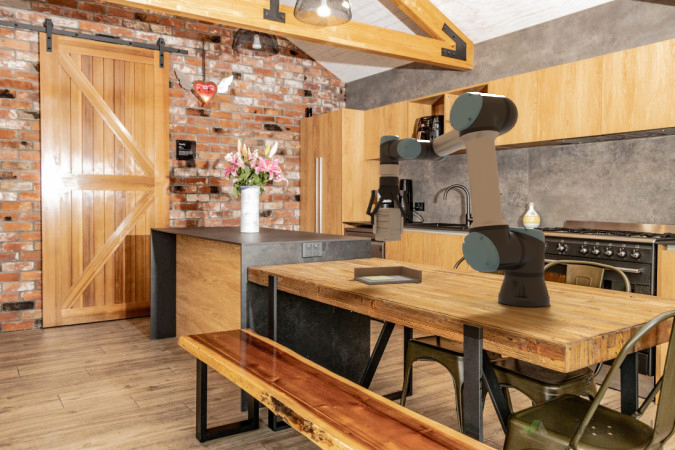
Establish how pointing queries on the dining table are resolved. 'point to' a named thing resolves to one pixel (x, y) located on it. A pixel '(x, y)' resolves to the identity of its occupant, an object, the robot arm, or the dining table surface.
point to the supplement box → (388, 224)
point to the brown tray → (388, 274)
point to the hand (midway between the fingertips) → (388, 233)
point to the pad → (378, 278)
